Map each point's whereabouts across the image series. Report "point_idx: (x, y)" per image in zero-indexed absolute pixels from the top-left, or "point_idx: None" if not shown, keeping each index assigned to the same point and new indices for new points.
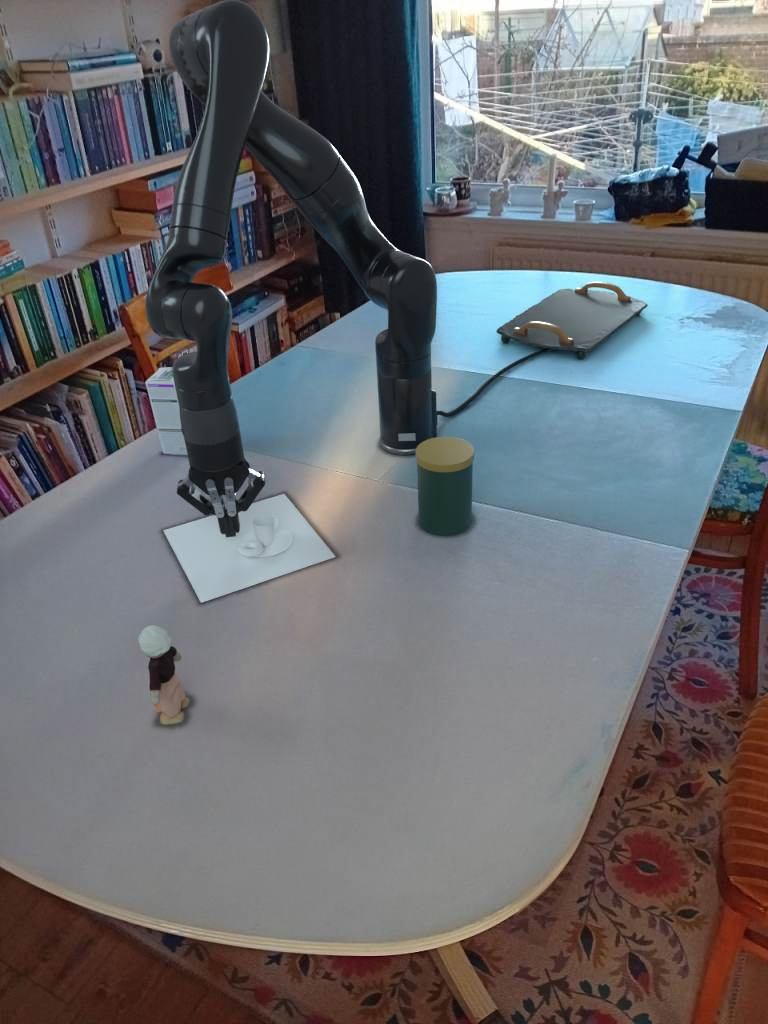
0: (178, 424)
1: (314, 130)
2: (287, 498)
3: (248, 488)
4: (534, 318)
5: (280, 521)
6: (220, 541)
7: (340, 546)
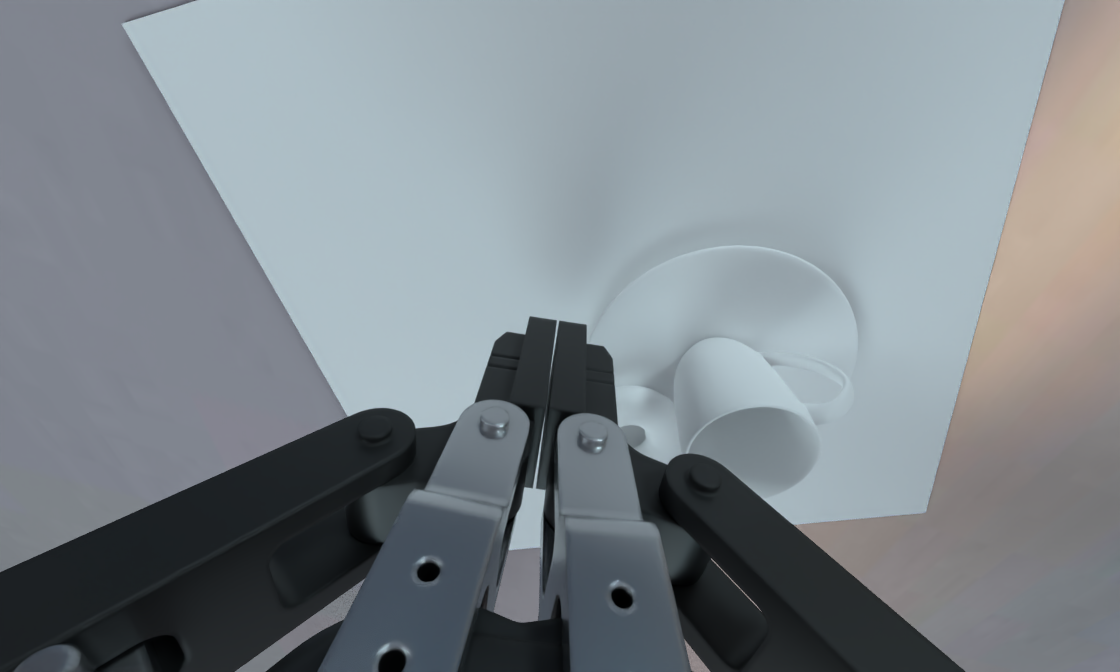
0: None
1: None
2: None
3: (791, 667)
4: None
5: (863, 192)
6: (496, 272)
7: (988, 468)
